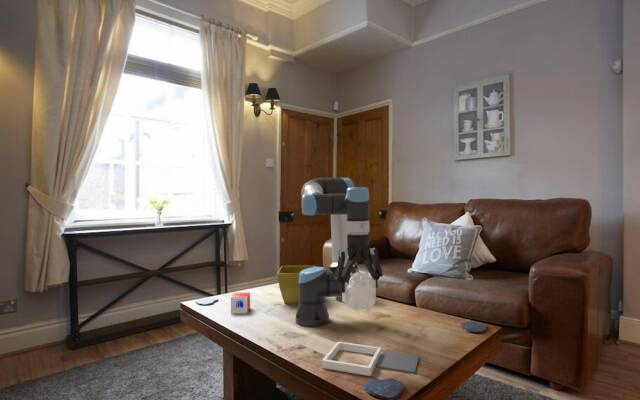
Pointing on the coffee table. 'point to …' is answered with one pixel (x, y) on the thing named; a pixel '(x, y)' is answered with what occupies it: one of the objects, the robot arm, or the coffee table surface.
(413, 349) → the coffee table surface
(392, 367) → the coaster pad
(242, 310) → the red and white cube
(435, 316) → the coffee table surface
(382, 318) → the coffee table surface
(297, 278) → the flower pot
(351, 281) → the figurine
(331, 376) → the coffee table surface
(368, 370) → the bin frame
